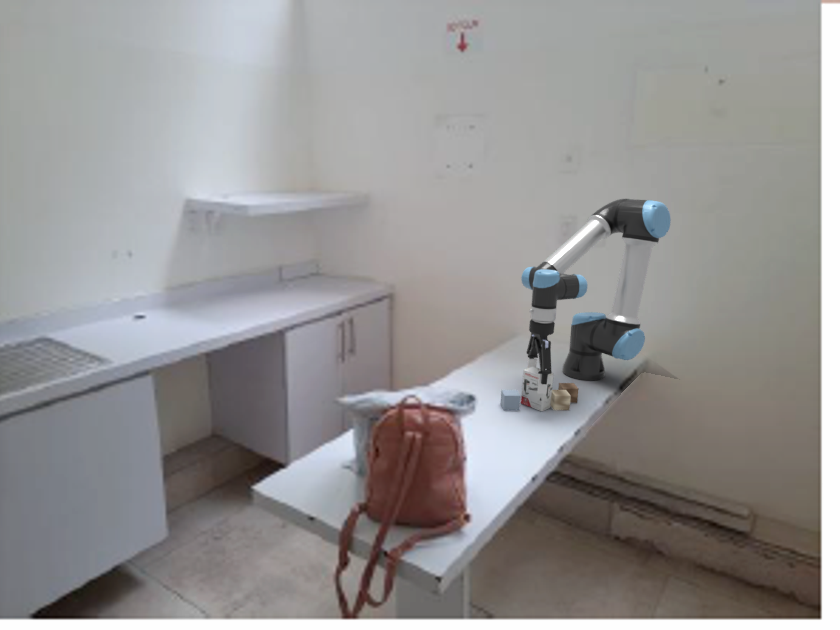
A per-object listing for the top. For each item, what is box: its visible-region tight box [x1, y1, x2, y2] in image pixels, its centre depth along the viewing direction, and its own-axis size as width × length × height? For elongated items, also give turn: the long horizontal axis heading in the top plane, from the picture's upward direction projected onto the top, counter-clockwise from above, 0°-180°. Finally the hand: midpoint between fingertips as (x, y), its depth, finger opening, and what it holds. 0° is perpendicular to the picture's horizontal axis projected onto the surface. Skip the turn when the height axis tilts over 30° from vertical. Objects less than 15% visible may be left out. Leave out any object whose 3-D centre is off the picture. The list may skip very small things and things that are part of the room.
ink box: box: [520, 366, 555, 412], centre depth 183 cm, size 9×5×12 cm, turn 45°
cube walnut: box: [557, 382, 580, 404], centre depth 190 cm, size 5×5×5 cm
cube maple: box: [550, 389, 571, 411], centre depth 183 cm, size 5×5×5 cm
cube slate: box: [500, 389, 521, 411], centre depth 182 cm, size 5×5×5 cm
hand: (536, 385), depth 183 cm, fingers open, 13 cm apart
